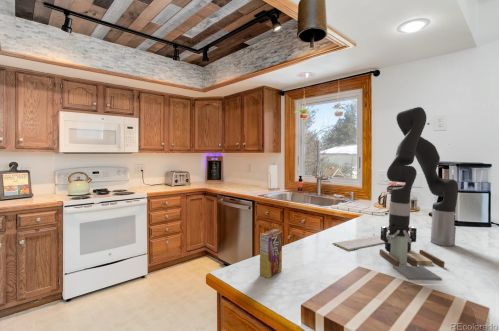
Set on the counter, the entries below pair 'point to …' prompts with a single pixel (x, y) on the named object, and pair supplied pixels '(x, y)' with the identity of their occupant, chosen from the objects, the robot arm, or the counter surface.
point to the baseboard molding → (360, 243)
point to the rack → (411, 260)
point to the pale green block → (399, 249)
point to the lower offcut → (425, 264)
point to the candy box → (270, 253)
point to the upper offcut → (420, 258)
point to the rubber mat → (417, 273)
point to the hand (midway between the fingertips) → (397, 251)
